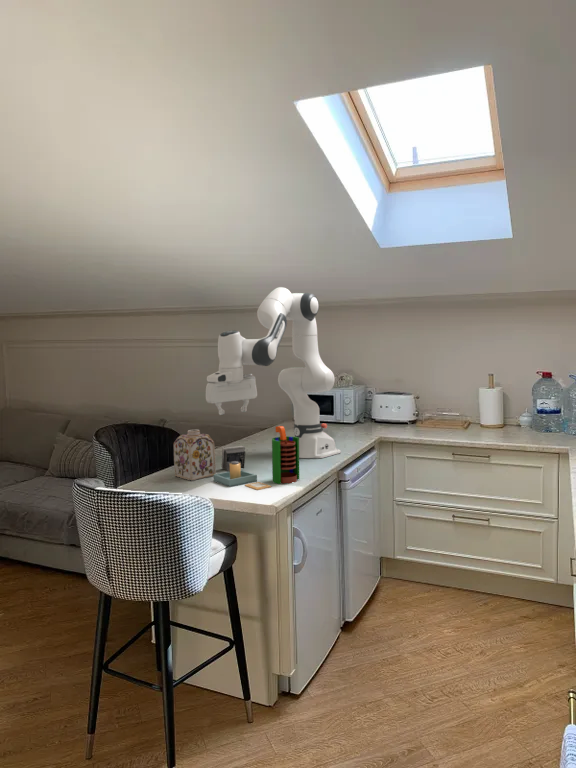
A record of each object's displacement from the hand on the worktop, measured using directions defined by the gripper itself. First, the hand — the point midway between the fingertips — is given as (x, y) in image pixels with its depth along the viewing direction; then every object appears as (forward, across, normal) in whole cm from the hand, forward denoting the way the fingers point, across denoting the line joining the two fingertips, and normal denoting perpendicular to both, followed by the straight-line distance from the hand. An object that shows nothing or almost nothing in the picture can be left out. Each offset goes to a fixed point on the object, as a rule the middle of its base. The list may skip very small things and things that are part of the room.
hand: (232, 413), depth 218 cm
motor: (+26, -14, +12) cm, 31 cm away
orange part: (+25, 0, 0) cm, 25 cm away
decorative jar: (+26, +8, -18) cm, 32 cm away
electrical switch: (+26, -10, -18) cm, 33 cm away
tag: (+25, -2, +12) cm, 28 cm away
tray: (+25, 0, 0) cm, 25 cm away
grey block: (+26, -4, -9) cm, 27 cm away
